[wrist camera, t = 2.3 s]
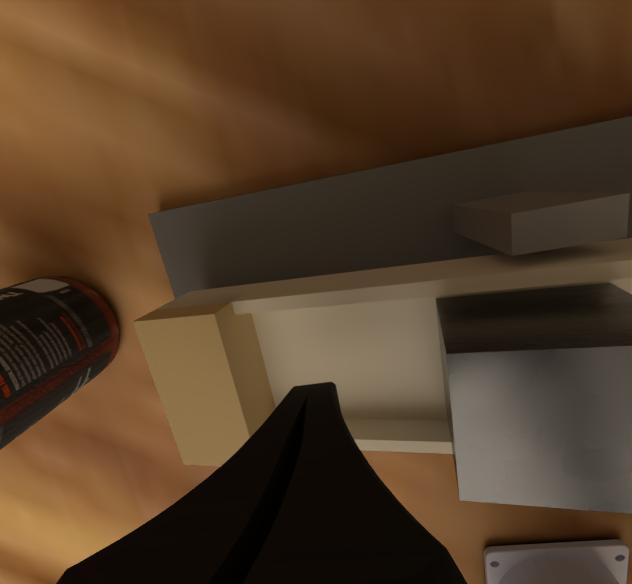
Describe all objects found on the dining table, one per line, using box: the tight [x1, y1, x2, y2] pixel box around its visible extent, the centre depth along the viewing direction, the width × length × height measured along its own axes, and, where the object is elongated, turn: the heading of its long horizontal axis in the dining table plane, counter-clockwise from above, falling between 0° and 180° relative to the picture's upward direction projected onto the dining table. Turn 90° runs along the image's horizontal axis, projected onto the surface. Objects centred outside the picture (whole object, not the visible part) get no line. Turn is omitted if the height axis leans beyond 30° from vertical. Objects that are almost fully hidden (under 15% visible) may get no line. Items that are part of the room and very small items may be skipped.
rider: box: [435, 283, 632, 514], centre depth 10 cm, size 4×5×4 cm
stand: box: [148, 116, 632, 299], centre depth 14 cm, size 14×30×6 cm, turn 101°
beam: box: [133, 238, 632, 467], centre depth 11 cm, size 7×28×4 cm, turn 101°
